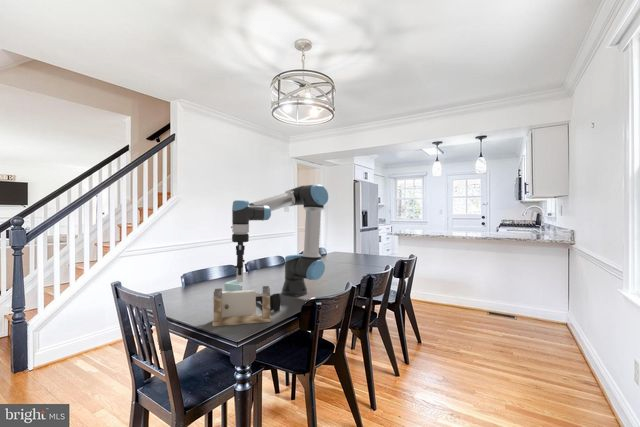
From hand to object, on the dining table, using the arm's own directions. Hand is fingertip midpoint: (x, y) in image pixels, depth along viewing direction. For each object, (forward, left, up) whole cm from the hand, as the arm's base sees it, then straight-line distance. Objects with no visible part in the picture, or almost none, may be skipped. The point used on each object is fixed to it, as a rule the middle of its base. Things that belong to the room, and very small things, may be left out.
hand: (240, 278), depth 144 cm
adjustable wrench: (-12, -15, -18) cm, 27 cm away
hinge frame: (-1, +6, -18) cm, 19 cm away
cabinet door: (+1, 0, -18) cm, 18 cm away
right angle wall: (+1, -42, -19) cm, 46 cm away
